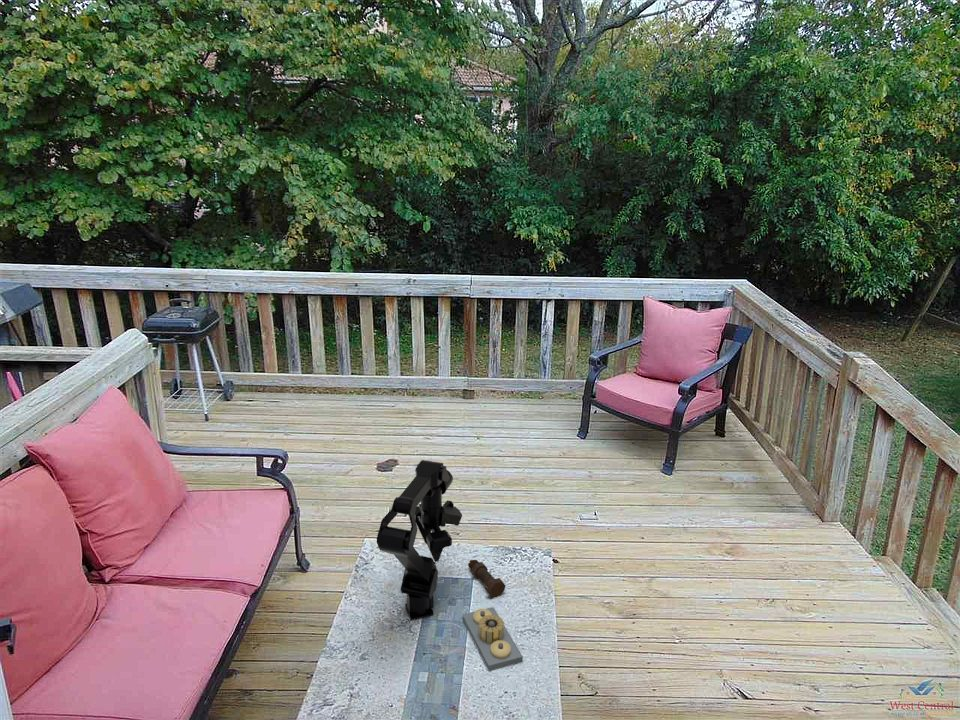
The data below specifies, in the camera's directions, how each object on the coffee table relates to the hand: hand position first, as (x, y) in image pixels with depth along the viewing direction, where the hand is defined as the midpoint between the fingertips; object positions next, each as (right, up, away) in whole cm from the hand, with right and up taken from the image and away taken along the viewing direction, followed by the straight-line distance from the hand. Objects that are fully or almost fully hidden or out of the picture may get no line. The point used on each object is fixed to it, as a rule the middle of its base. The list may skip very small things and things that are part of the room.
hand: (431, 552), depth 185 cm
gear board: (+17, -18, -16) cm, 29 cm away
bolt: (+15, -11, +7) cm, 20 cm away
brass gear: (+17, -16, -16) cm, 28 cm away
